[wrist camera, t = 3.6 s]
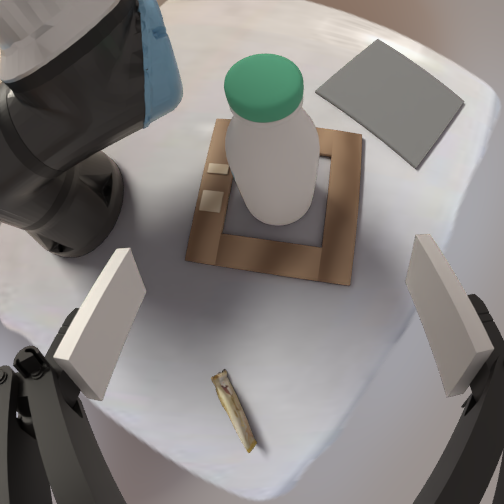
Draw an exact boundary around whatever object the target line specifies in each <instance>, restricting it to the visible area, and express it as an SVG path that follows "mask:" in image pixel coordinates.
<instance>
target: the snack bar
mask: <svg viewBox="0 0 504 504" xmlns="http://www.w3.org/2000/svg"><path fill="white" fill-rule="evenodd" d="M223 371H224V372H223ZM223 371H222V373H220V372H219V373H220V374H219V373H218V375H215V376H214V377H211V379H212V382H213V383H214V386H215V387H216V392H217V395H218V397H219V400H220V402H221V404H222V406H223V407H224V409H225V410H226V412H227V414H228V416H229V418H230V420H231V422H232V424H233V426H234V428H235V430H236V432H237V434H238V436H239V437H240V439H241V441H242V443H243V445H244V447H245V448H246V450H247V452H248V453H250V452H251V451H252V449H254V447H255V445H256V444H257V442H256V440H255V439H254V437H253V434H252V432H251V429H250V426H249V423H248V421H247V418H246V416H245V414H244V411H243V409H242V407H241V404H240V402H239V400H238V397H237V395H236V393H235V392H234V390H233V387H232V386H231V384H230V382H229V379H228V378H227V372H226V371H225V369H224V370H223Z"/></svg>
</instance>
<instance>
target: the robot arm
mask: <svg viewBox="0 0 504 504" xmlns="http://www.w3.org/2000/svg"><path fill="white" fill-rule="evenodd" d="M0 51H1V55H0V79H1V80H2V82H1V83H0V222H3V223H5V224H8V225H11V226H14V227H17V228H20V229H23V230H25V231H26V232H27V233H28V234H29V235H31V236H32V237H33V238H34V239H35V240H36V241H37V242H38V243H39V244H40V245H41V246H42V247H43V248H45V249H46V250H47V251H49V252H51V253H53V254H56V255H60V256H64V257H79V256H82V255H85V254H87V253H89V252H91V251H92V250H94V249H95V248H96V247H97V246H98V245H100V244H101V243H102V242H103V240H104V239H105V238H106V237H107V236H108V234H109V233H110V231H111V230H112V228H113V226H114V224H115V222H116V220H117V218H118V215H119V213H120V209H121V205H122V200H123V180H122V176H121V173H120V170H119V168H118V166H117V165H116V163H115V162H114V161H113V160H112V159H111V158H110V157H108V156H107V155H106V154H105V153H103V152H102V151H101V150H102V149H104V148H106V147H108V146H110V145H111V144H113V143H115V142H117V141H119V140H121V139H123V138H125V137H126V136H128V135H130V134H132V133H134V132H136V131H138V130H140V129H142V128H143V129H144V128H146V127H148V126H149V124H150V123H151V122H153V121H155V120H157V119H158V118H160V117H162V116H164V115H166V114H167V113H169V112H171V111H173V110H174V109H175V108H176V107H177V106H178V104H179V103H180V102H181V100H182V97H183V87H182V82H181V78H180V74H179V70H178V66H177V63H176V59H175V56H174V52H173V49H172V46H171V43H170V40H169V37H168V34H167V33H166V28H165V25H164V22H163V17H162V14H161V11H160V8H159V6H158V3H157V1H156V0H0ZM405 283H406V285H407V287H408V290H409V292H410V295H411V297H412V299H413V302H414V304H415V307H416V309H417V312H418V314H419V317H420V320H421V322H422V325H423V327H424V330H425V333H426V336H427V338H428V341H429V344H430V347H431V350H432V352H433V355H434V358H435V361H436V364H437V367H438V370H439V373H440V377H441V380H442V383H443V386H444V390H445V393H446V396H447V397H451V396H456V395H460V394H463V393H464V392H465V391H466V389H467V388H468V387H469V385H470V387H471V390H472V394H471V395H470V396H469V398H468V399H467V400H466V401H465V402H464V404H463V405H462V407H465V408H464V411H463V413H462V415H461V417H460V420H459V422H458V424H457V426H456V428H455V430H454V432H453V434H452V436H451V439H450V440H449V442H448V444H447V446H446V448H445V450H444V452H443V454H442V456H441V458H440V460H439V461H438V463H437V465H436V467H435V468H434V470H433V472H432V474H431V475H430V477H429V479H428V480H427V482H426V484H425V485H424V487H423V489H422V490H421V492H420V493H419V495H418V496H417V498H416V499H415V501H414V502H413V504H479V503H480V501H481V499H482V497H483V495H484V493H485V491H486V489H487V487H488V485H489V482H490V480H491V478H492V476H493V473H494V471H495V469H496V466H497V464H498V461H499V459H500V456H501V454H502V451H503V457H502V462H501V467H500V473H499V478H498V482H497V487H496V491H495V495H494V499H493V503H492V504H504V450H503V448H504V340H503V338H502V336H501V334H500V332H499V330H498V328H497V326H496V324H495V322H493V318H492V317H491V315H490V314H489V311H488V309H487V307H486V306H485V304H484V303H483V301H482V300H481V299H480V298H479V297H478V296H476V295H475V294H471V295H467V294H466V292H465V290H464V289H463V287H462V285H461V283H460V282H459V280H458V278H457V276H456V275H455V273H454V271H453V270H452V268H451V266H450V265H449V263H448V261H447V260H446V258H445V257H444V255H443V253H442V252H441V250H440V249H439V247H438V246H437V244H436V242H435V241H434V239H433V238H432V236H431V235H430V234H420V235H415V240H414V245H413V250H412V254H411V259H410V263H409V268H408V272H407V276H406V280H405ZM146 292H147V291H146V289H145V286H144V284H143V281H142V278H141V276H140V273H139V270H138V268H137V265H136V262H135V260H134V257H133V254H132V251H131V249H130V248H119V249H116V251H115V252H114V254H113V255H112V257H111V258H110V260H109V261H108V263H107V264H106V266H105V268H104V269H103V271H102V272H101V274H100V275H99V277H98V279H97V280H96V282H95V284H94V285H93V287H92V288H91V290H90V292H89V293H88V295H87V297H86V298H85V300H84V302H83V304H82V305H81V307H80V308H75V309H74V310H73V311H72V312H71V313H70V314H69V315H68V316H67V318H66V319H65V321H64V323H63V325H62V327H61V328H60V330H59V332H58V334H57V335H56V337H55V339H54V341H53V343H52V344H51V346H50V348H49V350H48V352H47V354H46V356H45V357H44V356H43V355H42V353H41V352H40V351H39V350H38V348H36V347H35V346H27V347H25V348H23V349H22V350H20V351H19V353H18V354H17V355H16V357H15V359H14V363H13V366H14V367H15V368H16V369H17V370H18V371H19V372H17V373H15V372H14V371H13V370H12V369H11V368H10V367H9V366H2V367H0V504H52V497H51V490H50V486H51V489H52V492H53V494H54V497H55V500H56V502H57V504H126V502H125V500H124V498H123V496H122V494H121V492H120V491H119V489H118V487H117V485H116V483H115V481H114V479H113V477H112V475H111V473H110V470H109V468H108V466H107V464H106V462H105V460H104V457H103V455H102V453H101V451H100V448H99V446H98V444H97V441H96V439H95V436H94V434H93V431H92V429H91V426H90V424H89V421H88V418H87V416H86V413H85V410H84V408H83V405H82V402H81V400H80V398H79V397H78V395H79V393H80V391H81V392H82V393H83V394H84V395H85V396H86V397H87V398H89V399H94V400H99V401H102V400H103V398H104V395H105V392H106V389H107V387H108V384H109V381H110V379H111V376H112V374H113V371H114V368H115V366H116V363H117V361H118V358H119V356H120V353H121V351H122V348H123V346H124V343H125V341H126V338H127V336H128V333H129V331H130V329H131V326H132V324H133V322H134V319H135V317H136V315H137V312H138V310H139V308H140V305H141V303H142V301H143V298H144V296H145V294H146ZM16 411H17V412H18V418H16Z"/></svg>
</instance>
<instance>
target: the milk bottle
mask: <svg viewBox="0 0 504 504" xmlns="http://www.w3.org/2000/svg"><path fill="white" fill-rule="evenodd" d="M224 90H225V94H226V98H227V100H228V103H229V106H230V110H231V112H232V113H233V115H234V116H233V117H232V119H231V121H230V123H229V126H228V129H227V133H226V138H225V150H226V157H227V161H228V164H229V167H230V170H231V172H232V175H233V177H234V179H235V182H236V184H237V186H238V189H239V191H240V193H241V195H242V198H243V200H244V202H245V204H246V206H247V208H248V210H249V211H250V212H251V214H252V215H253V216H254V217H255V218H257V219H258V220H260V221H261V222H263V223H266V224H269V225H276V226H281V225H287V224H290V223H293V222H295V221H297V220H298V219H300V218H301V217H302V216H303V215H304V214H305V213H306V212H307V210H308V209H309V207H310V205H311V202H312V199H313V194H314V189H315V184H316V178H317V171H318V165H319V154H320V145H319V137H318V133H317V130H316V127H315V125H314V123H313V121H312V119H311V118H310V116H309V115H308V114H307V112H306V111H305V110H304V109H303V108H302V104H303V90H304V85H303V77H302V74H301V72H300V70H299V68H298V67H297V66H296V65H295V64H294V63H293V62H292V61H290V60H289V59H287V58H285V57H282V56H279V55H275V54H256V55H252V56H249V57H246V58H244V59H242V60H240V61H238V62H237V63H236V64H234V65H233V66H232V67H231V68H230V70H229V71H228V73H227V75H226V77H225V82H224Z"/></svg>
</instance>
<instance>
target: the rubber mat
mask: <svg viewBox="0 0 504 504" xmlns="http://www.w3.org/2000/svg"><path fill="white" fill-rule="evenodd" d="M315 93H317V94H318V95H320V96H321V97H323V98H324V99H326V100H327V101H329V102H330V103H332V104H333V105H334V106H336V107H337V108H339V109H340V110H342V111H343V112H344V113H346V114H347V115H349V116H350V117H351V118H353V119H354V120H355V121H357V122H358V123H359V124H361V125H362V126H363V127H365V128H366V129H367V130H369V131H370V132H371V133H373V134H374V135H375V136H376V137H378V138H379V139H380V140H382V141H383V142H384V143H385V144H387V145H388V146H389V147H390V148H391V149H393V150H394V151H395V152H396V153H397V154H399V155H400V156H401V157H402V158H403V159H405V160H406V161H407V162H408V163H409V164H410V165H411V166H413V167H414V168H415V169H416V167H417V166H418V165H419V163H420V162H421V161H422V160H423V158H424V157H425V156H426V154H427V153H428V151H429V150H430V149H431V147H432V146H433V145H434V143H435V142H436V141H437V139H438V138H439V136H440V135H441V134H442V132H443V131H444V130H445V128H446V127H447V125H448V124H449V123H450V121H451V120H452V118H453V117H454V115H455V114H456V113H457V111H458V110H459V108H460V107H461V105H462V104H463V102H464V101H463V100H462V99H461V98H460V97H459V96H458V95H456V94H455V93H454V92H453V91H451V90H450V89H449V88H448V87H446V86H445V85H444V84H443V83H441V82H440V81H439V80H437V79H436V78H435V77H434V76H432V75H431V74H430V73H428V72H427V71H425V70H424V69H423V68H421V67H420V66H418V65H417V64H416V63H414V62H413V61H411V60H410V59H408V58H407V57H405V56H404V55H402V54H401V53H399V52H398V51H396V50H395V49H393V48H392V47H390V46H388V45H387V44H385V43H384V42H382V41H380V40H379V39H377V40H376V41H375V42H373V43H372V44H371V45H370V46H368V47H367V48H366V49H365V50H363V51H362V52H361V53H360V54H358V55H357V56H356V57H355V58H354V59H352V60H351V61H350V62H349V63H347V64H346V65H345V66H344V67H343V68H342V69H340V70H339V71H338V72H337V73H336V74H334V75H333V76H332V77H331V78H330V79H329V80H327V81H326V82H325V83H324V84H323V85H322V86H320V87H319V88H318V89H317V90H316V91H315Z"/></svg>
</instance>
